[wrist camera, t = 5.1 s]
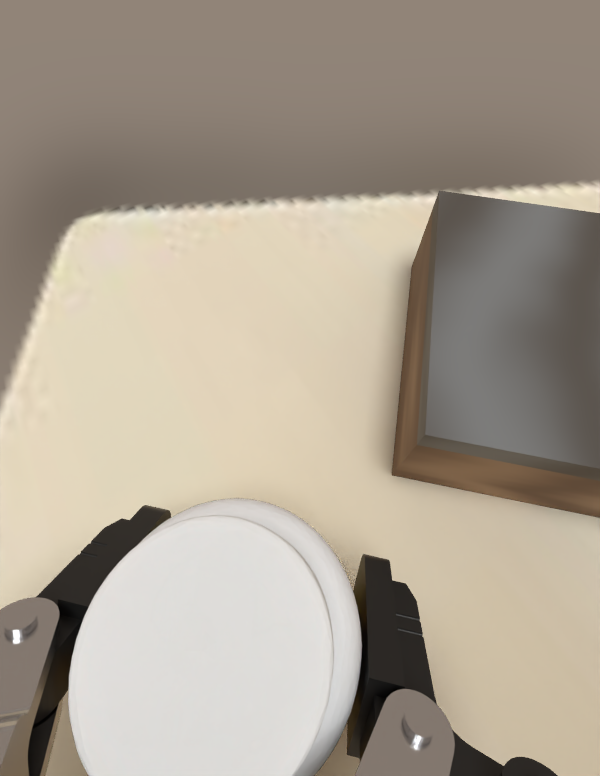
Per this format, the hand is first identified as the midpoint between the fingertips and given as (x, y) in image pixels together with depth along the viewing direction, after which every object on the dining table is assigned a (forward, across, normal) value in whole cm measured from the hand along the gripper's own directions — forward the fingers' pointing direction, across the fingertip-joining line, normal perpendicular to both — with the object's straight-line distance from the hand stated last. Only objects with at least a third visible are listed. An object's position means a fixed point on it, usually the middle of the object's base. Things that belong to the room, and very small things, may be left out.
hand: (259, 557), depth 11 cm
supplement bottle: (+2, 0, +5) cm, 5 cm away
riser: (+11, -11, -5) cm, 16 cm away
